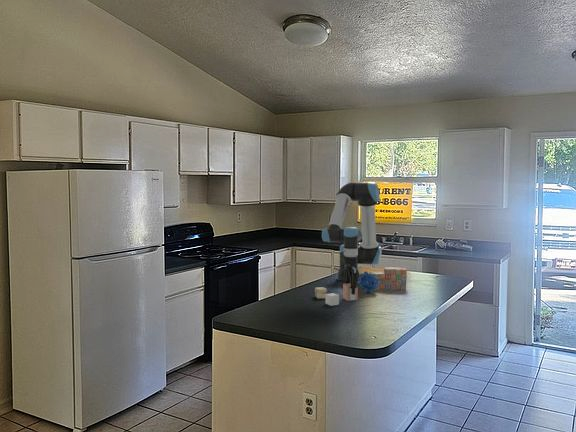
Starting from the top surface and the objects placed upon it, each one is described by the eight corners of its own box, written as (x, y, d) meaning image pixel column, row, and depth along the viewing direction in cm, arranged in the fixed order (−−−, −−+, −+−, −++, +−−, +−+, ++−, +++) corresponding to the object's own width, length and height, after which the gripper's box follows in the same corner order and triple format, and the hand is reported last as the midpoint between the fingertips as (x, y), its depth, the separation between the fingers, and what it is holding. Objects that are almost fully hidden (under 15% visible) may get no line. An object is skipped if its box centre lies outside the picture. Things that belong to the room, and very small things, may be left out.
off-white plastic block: (325, 303, 260) (325, 294, 260) (333, 302, 263) (333, 293, 263) (330, 305, 256) (330, 296, 256) (339, 304, 259) (339, 295, 258)
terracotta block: (343, 298, 273) (343, 283, 272) (353, 297, 274) (353, 283, 274) (347, 300, 267) (347, 285, 266) (357, 300, 268) (357, 285, 268)
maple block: (315, 296, 277) (315, 287, 276) (323, 296, 278) (323, 287, 277) (317, 298, 272) (317, 289, 271) (326, 298, 273) (326, 289, 273)
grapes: (355, 293, 285) (355, 272, 285) (359, 290, 291) (359, 270, 291) (375, 295, 280) (375, 273, 279) (379, 292, 286) (379, 271, 285)
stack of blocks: (369, 289, 296) (369, 268, 295) (368, 287, 302) (368, 266, 301) (406, 290, 294) (406, 269, 293) (404, 287, 300) (405, 267, 299)
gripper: (337, 253, 277) (337, 295, 279) (350, 258, 259) (350, 303, 260) (350, 253, 279) (350, 294, 281) (364, 258, 260) (363, 302, 262)
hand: (350, 298), depth 270 cm, fingers open, 6 cm apart
